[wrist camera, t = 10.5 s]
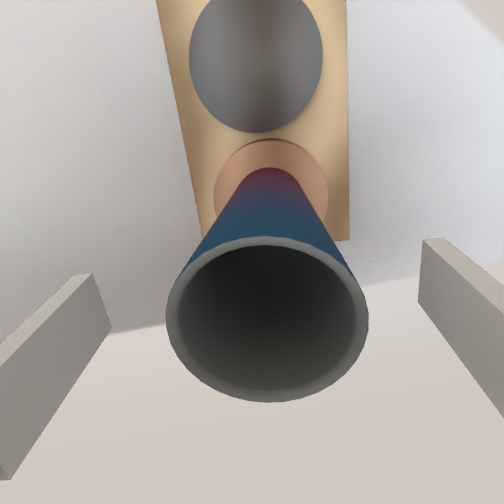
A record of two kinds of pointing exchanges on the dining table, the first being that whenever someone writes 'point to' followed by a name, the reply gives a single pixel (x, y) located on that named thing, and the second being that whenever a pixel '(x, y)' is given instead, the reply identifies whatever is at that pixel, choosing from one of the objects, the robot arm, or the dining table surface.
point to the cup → (267, 298)
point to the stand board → (301, 129)
